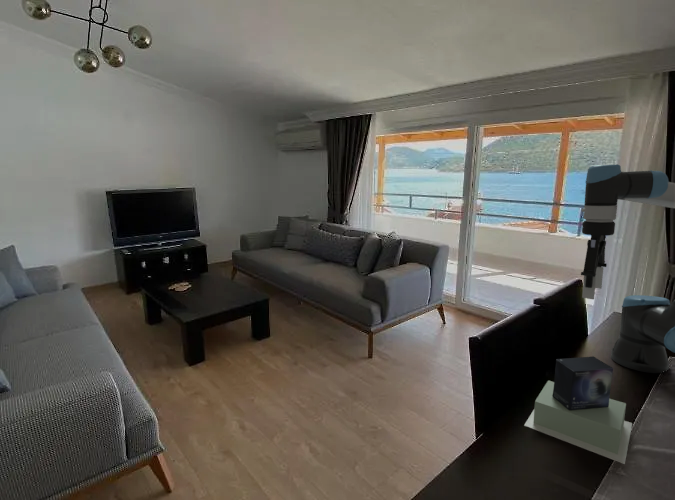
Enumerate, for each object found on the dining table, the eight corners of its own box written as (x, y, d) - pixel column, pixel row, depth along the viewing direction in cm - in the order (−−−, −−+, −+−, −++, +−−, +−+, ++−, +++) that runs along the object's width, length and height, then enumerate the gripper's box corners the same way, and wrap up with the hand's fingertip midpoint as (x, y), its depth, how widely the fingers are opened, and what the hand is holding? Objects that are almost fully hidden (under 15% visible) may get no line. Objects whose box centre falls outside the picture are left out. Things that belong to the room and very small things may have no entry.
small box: (570, 412, 86) (573, 371, 85) (551, 396, 93) (554, 358, 91) (610, 408, 87) (615, 367, 86) (589, 393, 94) (592, 355, 92)
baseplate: (542, 397, 104) (543, 394, 104) (631, 426, 91) (632, 423, 91) (523, 428, 91) (524, 425, 91) (624, 468, 78) (624, 464, 78)
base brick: (546, 400, 101) (548, 380, 100) (623, 425, 90) (626, 403, 89) (533, 422, 92) (534, 401, 91) (617, 454, 81) (620, 430, 80)
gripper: (590, 216, 115) (584, 282, 118) (574, 223, 96) (568, 300, 100) (620, 217, 109) (613, 285, 113) (609, 225, 91) (601, 306, 95)
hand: (592, 292), depth 107 cm, fingers open, 13 cm apart
